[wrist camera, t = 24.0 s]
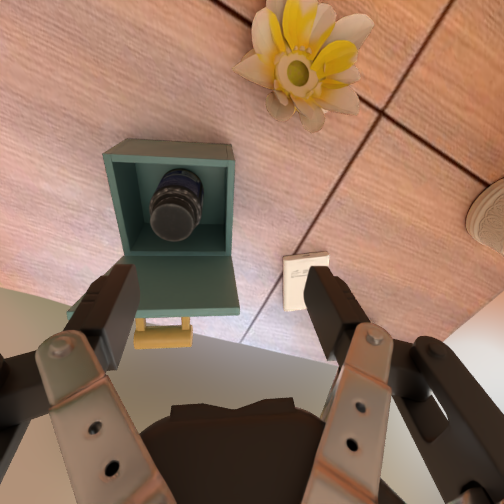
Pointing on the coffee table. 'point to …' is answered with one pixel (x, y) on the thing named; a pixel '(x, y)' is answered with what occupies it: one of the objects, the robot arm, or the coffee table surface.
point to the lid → (179, 295)
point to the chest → (147, 180)
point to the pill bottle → (176, 205)
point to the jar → (488, 218)
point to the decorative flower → (305, 59)
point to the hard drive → (299, 277)
